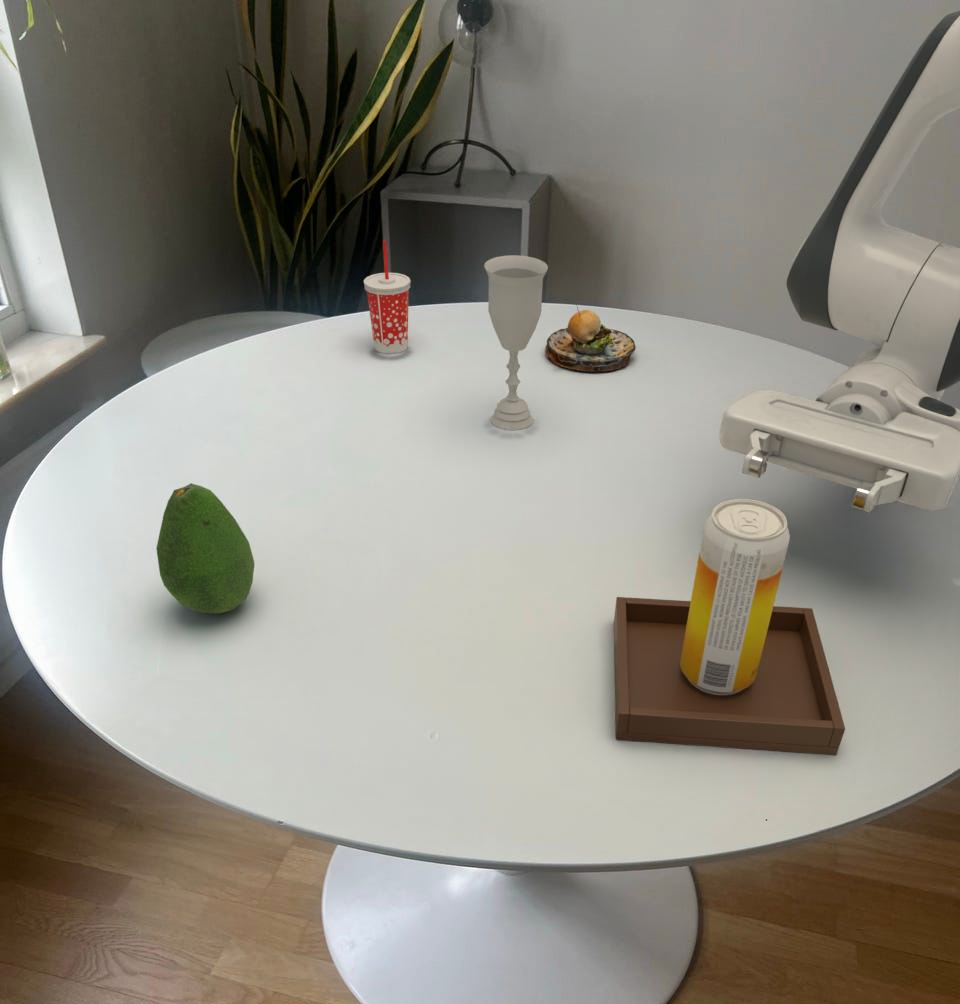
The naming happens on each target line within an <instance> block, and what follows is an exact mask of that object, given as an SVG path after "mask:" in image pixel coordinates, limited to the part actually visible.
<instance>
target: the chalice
mask: <svg viewBox="0 0 960 1004" xmlns="http://www.w3.org/2000/svg"><path fill="white" fill-rule="evenodd" d="M483 268H484V269H485V271H486V274H487V276H488V303H487V305H488V309H487V311H488V314H489V318H490V321H491V324H492V327H493V329H494V331H495V334H496V337H497V339H498V340H499V342H500V343H499V344H500V345H501V347H502V349H503V350H506V351H508V353H509V359H508V363H507V364H506V368H507V370H508V374H509V375H508V378H507V379H506V380H505V383H506V384H507V386H508V394H507V395H506V396H505V397H504V398H501V400H499V402H498V403H496V408H495V409H494V412H493V415H492V416H491V418H490V422H491V424H492V425H493V426H495V427H496V428H499V429H502V430H507V431H508V430H509V431H519V430H523V429H526V428H528V427H531V426H532V425H533V424H534V423H533V422H534V418H533V416H532V415H531V411H530V408H529V405H528V403H527V401H525V400H524V399H523V398H521V397H520V396H518V392H517V391H518V386H519V385H520V384H521V380H520V379H519V377H518V371H519V370H520V368H521V365H520V363H519V359H518V355H519V352H521V351H523V350H525V349H526V348H527V346H528V344H529V343H530V340H531V339H532V337H533V335H534V333H535V331H536V329H537V326H538V323H539V320H540V317H541V315H542V305H543V304H542V303H543V285H544V283H543V281H544V277H545V276H546V274H547V272H548V268H549V266H548V264H547V263H546V262H545V261H543V260H541V259H538V258H536V257H531V256H527V255H517V254H516V255H515V254H513V255H502V256H495V257H493V258H490V259H488V260H487V261H486V262H485V263H484V265H483Z"/></svg>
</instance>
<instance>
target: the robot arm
mask: <svg viewBox="0 0 960 1004" xmlns="http://www.w3.org/2000/svg"><path fill="white" fill-rule="evenodd" d="M959 109H960V10H957V11H955V12H950V13H948V14H946V15H945V16H944V17H943V18H942V19H941V20H940V21H939V22H938V23H937V24H936V25H935V26H934V28H933V29H932V30H931V31H930V32H929V33H928V35H927V36H926V38H925V39H924V40H923V41H922V43H921V44H920V46H919V48H917V50H916V52H915V53H914V55H913V56H912V57H911V60H910V61H909V63H908V65H907V66H906V68H905V70H904V71H903V73H902V74H901V76H900V78H899V80H898V81H897V83H896V85H895V86H894V88H893V89H892V91H891V93H890V94H889V96H888V99H886V101H885V103H884V105H883V107H882V109H881V110H880V112H879V114H878V116H877V117H876V119H875V121H874V122H873V124H872V126H871V128H870V130H869V132H868V133H867V135H866V137H865V139H864V140H863V142H862V144H861V146H860V148H859V150H858V151H857V153H856V154H855V157H854V158H853V160H852V162H851V164H850V165H849V167H848V169H847V171H846V173H845V174H844V176H843V178H842V180H841V181H840V182H839V183H840V184H839V185H838V187H837V189H836V191H835V192H834V194H833V195H832V196H831V199H830V201H829V202H828V204H827V206H826V208H825V209H824V211H823V212H822V213H821V215H820V217H819V219H817V221H816V223H815V225H814V226H813V227H812V229H811V230H810V232H809V233H808V234H807V236H806V237H805V238H804V240H803V241H802V243H801V244H800V246H799V247H798V249H797V251H796V253H795V255H794V257H793V260H792V262H791V264H790V268H789V272H788V276H787V278H786V282H785V283H786V289H787V292H788V295H789V299H790V301H791V304H792V305H793V307H794V309H795V311H796V313H797V314H798V316H799V318H800V319H801V321H802V322H806V323H810V324H813V325H816V326H820V327H823V328H826V329H829V330H833V331H840V332H844V333H845V334H849V335H851V336H853V337H856V338H858V339H861V340H864V341H865V342H869V343H871V344H872V345H870V346H869V347H868V348H867V349H866V350H864V351H863V352H862V353H861V354H859V356H858V357H857V358H856V359H855V360H854V361H852V363H851V364H850V365H849V367H848V368H847V369H846V370H844V371H843V372H842V373H840V374H839V375H838V377H836V378H835V379H834V380H833V381H832V382H831V383H830V384H829V385H828V386H827V387H826V388H825V389H823V391H822V392H821V393H820V394H819V395H818V396H817V398H816V399H815V400H814V399H811V398H806V397H804V396H799V395H795V394H792V393H788V392H784V391H781V390H776V389H759V390H755V391H753V392H751V393H748V394H747V395H745V396H743V397H741V398H739V399H738V400H736V401H735V402H733V403H731V404H730V405H729V406H728V407H727V408H726V409H725V410H724V411H723V413H722V418H721V421H720V427H719V435H718V440H719V443H720V446H721V447H722V448H723V449H725V450H727V451H729V452H734V453H737V454H740V455H743V456H745V457H744V460H743V466H742V474H744V475H748V476H752V477H755V478H758V479H759V478H761V477H762V475H764V474H765V473H766V471H767V468H768V463H769V464H772V465H777V466H780V467H782V468H786V469H790V470H793V471H797V472H800V473H804V474H805V475H809V476H813V477H817V478H819V479H822V480H825V481H828V482H829V481H830V482H833V483H836V484H840V485H843V486H846V487H849V488H853V489H856V490H855V493H854V496H853V498H854V499H853V501H852V504H851V507H852V508H854V509H858V510H859V511H864V512H867V513H871V512H872V510H873V509H874V508H875V507H876V506H881V505H886V504H890V503H896V502H899V503H902V504H905V505H909V506H913V507H916V508H919V509H922V510H925V511H929V512H933V511H940V510H944V509H946V507H947V506H948V504H949V502H950V500H951V497H952V494H953V492H954V489H955V487H956V484H957V481H958V479H959V476H960V409H959V408H956V407H954V406H952V405H949V404H948V403H946V402H943V401H942V400H941V399H942V397H943V396H944V393H945V391H946V389H948V388H950V387H952V386H954V385H956V384H958V383H959V382H960V248H959V247H956V246H953V245H950V244H947V243H945V242H938V241H936V240H933V239H930V238H928V237H925V236H921V235H919V234H916V233H913V232H910V231H907V230H905V229H901V228H898V227H896V226H893V225H890V223H887V222H886V221H885V219H884V218H883V216H882V209H883V206H884V205H885V203H886V201H888V198H889V197H890V196H891V193H892V191H893V190H894V188H895V187H896V186H897V183H898V182H899V180H900V179H901V177H902V175H903V173H904V172H905V170H906V168H908V166H909V164H910V162H911V160H912V158H913V157H914V155H915V154H916V152H917V151H918V148H919V147H920V145H921V143H922V142H923V140H924V139H925V138H926V135H927V134H928V133H929V131H930V130H931V128H932V127H933V126H934V125H935V124H936V122H938V121H939V120H940V119H941V118H942V117H944V116H946V115H948V114H949V113H951V112H954V111H956V110H959Z"/></svg>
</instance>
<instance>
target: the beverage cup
mask: <svg viewBox="0 0 960 1004" xmlns="http://www.w3.org/2000/svg"><path fill="white" fill-rule="evenodd" d="M382 247H383V249H382V250H383V264H384V265H383V267H384V272H379V273H374V274H371V275H368V276H366V277H365V278H364V279H363V285H364V290H365V291H366V295H367V303H368V310H369V318H370V325H371V326H370V327H371V332H372V342H373V347H374V350H375V351H376V352H379V353H382V354H389V355H390V354H391V355H392V354H398V353H399V354H400V353H402V352H404V351H406V350H407V349H408V347H409V298H410V297H409V296H410V295H409V294H410V288H411V283H412V282H411V281H412V280H411V278H410V277H409V276H407V275H406V274H402V273H398V272H389V259H388V257H389V256H388V240H386V239H384V240H382Z"/></svg>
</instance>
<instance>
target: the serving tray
mask: <svg viewBox="0 0 960 1004" xmlns="http://www.w3.org/2000/svg"><path fill="white" fill-rule="evenodd" d="M690 603H691V600H676V599H660V598H658V599H657V598H644V597H643V598H641V597H624V596H616V598H615V609H614V616H613V659H614V660H613V661H614V713H615V714H614V716H615V717H614V724H615V725H614V727H615V728H614V729H615V733H614V734H615V735H614V736H615V740H617V741H618V740H619V741H632V742H647V743H661V744H675V745H676V744H677V745H689V746H702V747H703V746H704V747H717V748H731V749H732V748H734V749H744V750H745V749H746V750H747V749H748V750H759V751H760V750H761V751H776V752H789V753H790V752H791V753H806V754H818V755H833V756H837V755H838V752H839V749H840V746H841V743H842V740H843V736H844V734H845V731H846V727H845V723H844V719H843V716H842V712H841V707H840V705H839V701H838V696H837V694H836V690H835V685H834V683H833V678H832V675H831V672H830V668H829V664H828V661H827V658H826V654H825V650H824V647H823V643H822V639H821V636H820V632H819V628H818V625H817V621H816V618H815V614H814V610H813V608H812V607H810V608H808V607H796V606H795V607H793V606H779V605H777V606H776V605H774V606H773V610H772V614H771V618H770V622H769V626H768V630H767V634H766V638H765V642H764V646H763V651H762V655H761V659H760V663H759V667H758V671H757V675H756V678H755V680H754V682H753V683H752V684H751V685H750V686H748V687H747V688H745V689H743V690H741V691H740V692H738V693H735V694H732V695H713V694H709V693H706V692H703V691H701V690H699V689H698V688H696V687H695V686H693V685H692V684H691V683H690V681H689V680H688V678H687V677H686V676H685V675H684V673H683V671H682V669H681V666H680V660H681V655H682V649H683V643H684V637H685V632H686V626H687V620H688V615H689V609H690Z"/></svg>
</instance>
